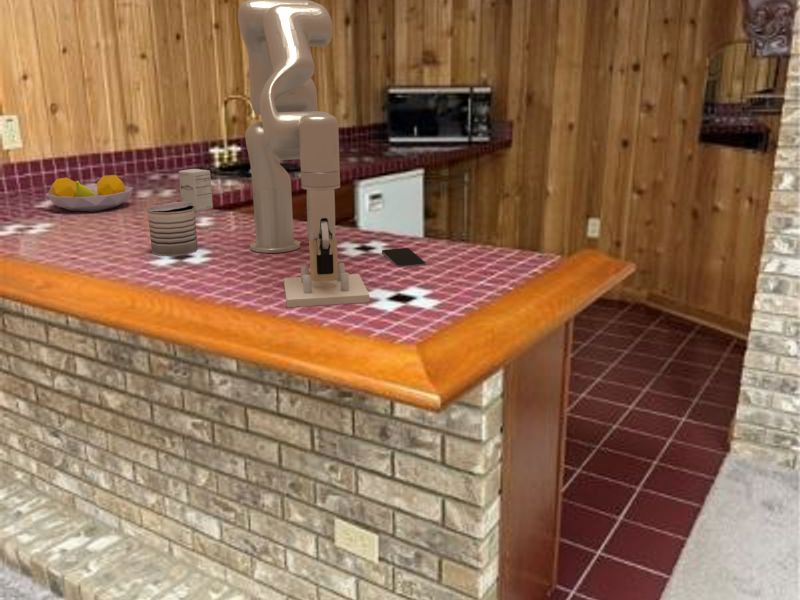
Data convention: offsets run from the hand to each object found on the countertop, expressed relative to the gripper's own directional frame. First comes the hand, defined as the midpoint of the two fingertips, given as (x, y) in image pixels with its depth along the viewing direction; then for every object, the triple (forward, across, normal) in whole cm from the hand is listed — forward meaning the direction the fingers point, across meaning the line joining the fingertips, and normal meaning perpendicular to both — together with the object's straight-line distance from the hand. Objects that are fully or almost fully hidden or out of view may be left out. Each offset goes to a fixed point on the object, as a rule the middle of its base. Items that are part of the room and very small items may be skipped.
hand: (324, 268), depth 150 cm
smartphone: (+6, -25, +21) cm, 33 cm away
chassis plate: (+5, 0, 0) cm, 5 cm away
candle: (+2, 0, 0) cm, 2 cm away
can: (+5, -45, -34) cm, 57 cm away
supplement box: (+5, -106, -33) cm, 111 cm away
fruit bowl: (+6, -114, -68) cm, 133 cm away
